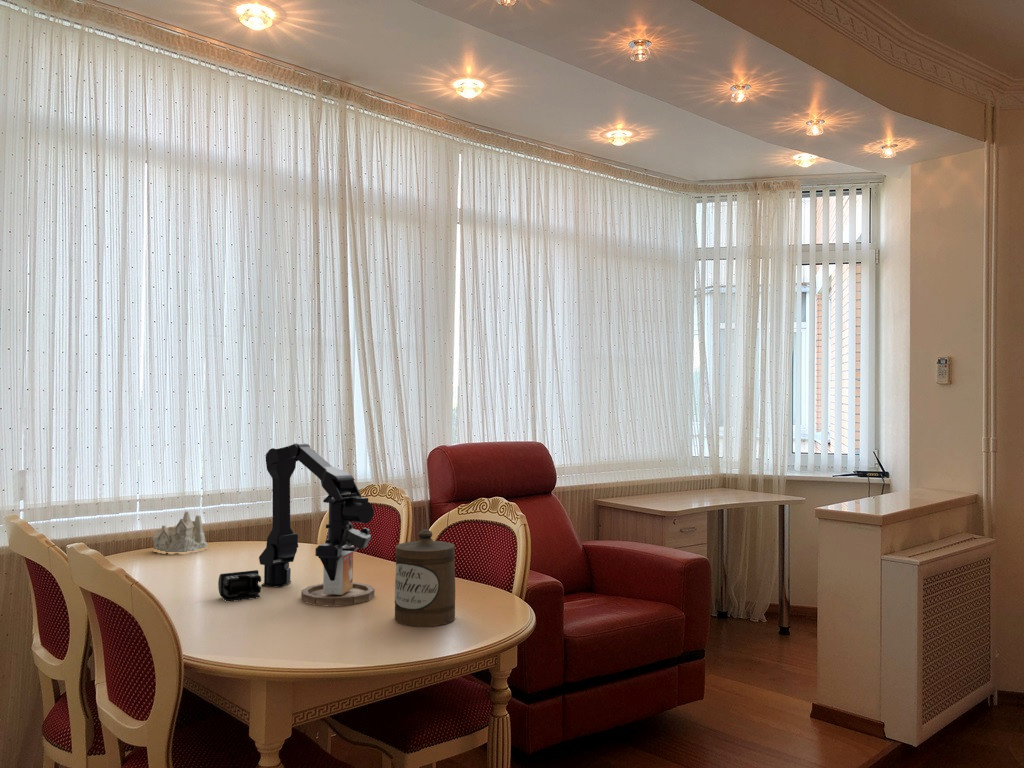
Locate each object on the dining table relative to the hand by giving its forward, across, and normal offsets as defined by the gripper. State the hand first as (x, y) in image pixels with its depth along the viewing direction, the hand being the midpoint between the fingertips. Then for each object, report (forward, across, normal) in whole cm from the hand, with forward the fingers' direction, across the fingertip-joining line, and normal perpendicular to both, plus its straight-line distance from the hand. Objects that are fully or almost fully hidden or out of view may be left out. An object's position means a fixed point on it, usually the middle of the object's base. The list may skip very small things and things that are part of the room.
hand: (338, 577), depth 222 cm
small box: (+4, 0, 0) cm, 4 cm away
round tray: (+5, 0, 0) cm, 5 cm away
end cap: (+6, -5, +26) cm, 27 cm away
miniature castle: (+6, +55, +79) cm, 96 cm away
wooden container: (+6, -17, -29) cm, 34 cm away
